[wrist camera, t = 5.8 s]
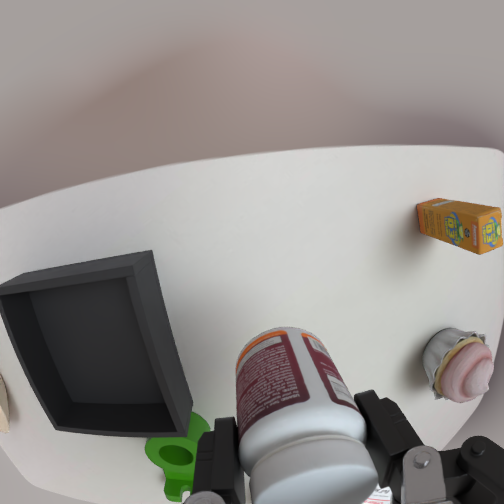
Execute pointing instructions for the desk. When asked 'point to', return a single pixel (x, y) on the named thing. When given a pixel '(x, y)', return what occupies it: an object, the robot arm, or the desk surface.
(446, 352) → the cupcake
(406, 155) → the desk surface
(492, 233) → the supplement box
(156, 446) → the green ring bracket
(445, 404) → the desk surface
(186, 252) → the desk surface
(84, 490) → the desk surface
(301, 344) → the pill bottle
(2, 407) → the toy sailboat
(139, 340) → the tray
